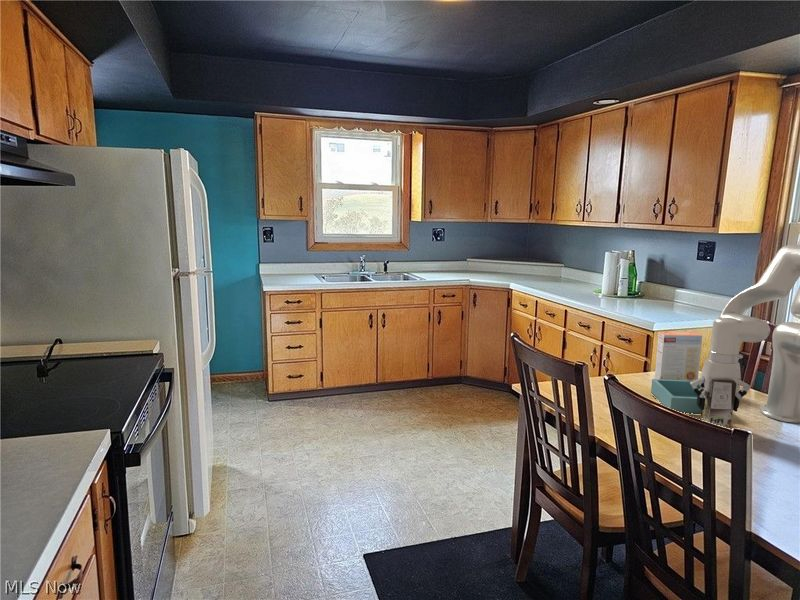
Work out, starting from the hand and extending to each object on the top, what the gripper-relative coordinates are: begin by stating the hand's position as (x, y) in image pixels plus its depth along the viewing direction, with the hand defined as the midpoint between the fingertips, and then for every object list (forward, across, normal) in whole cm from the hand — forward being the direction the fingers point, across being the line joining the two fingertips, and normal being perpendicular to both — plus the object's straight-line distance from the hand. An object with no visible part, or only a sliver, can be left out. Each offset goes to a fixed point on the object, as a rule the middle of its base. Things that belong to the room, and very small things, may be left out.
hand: (716, 408), depth 156 cm
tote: (+6, +2, -16) cm, 17 cm away
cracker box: (+6, -2, -37) cm, 38 cm away
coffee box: (+6, 0, 0) cm, 6 cm away
